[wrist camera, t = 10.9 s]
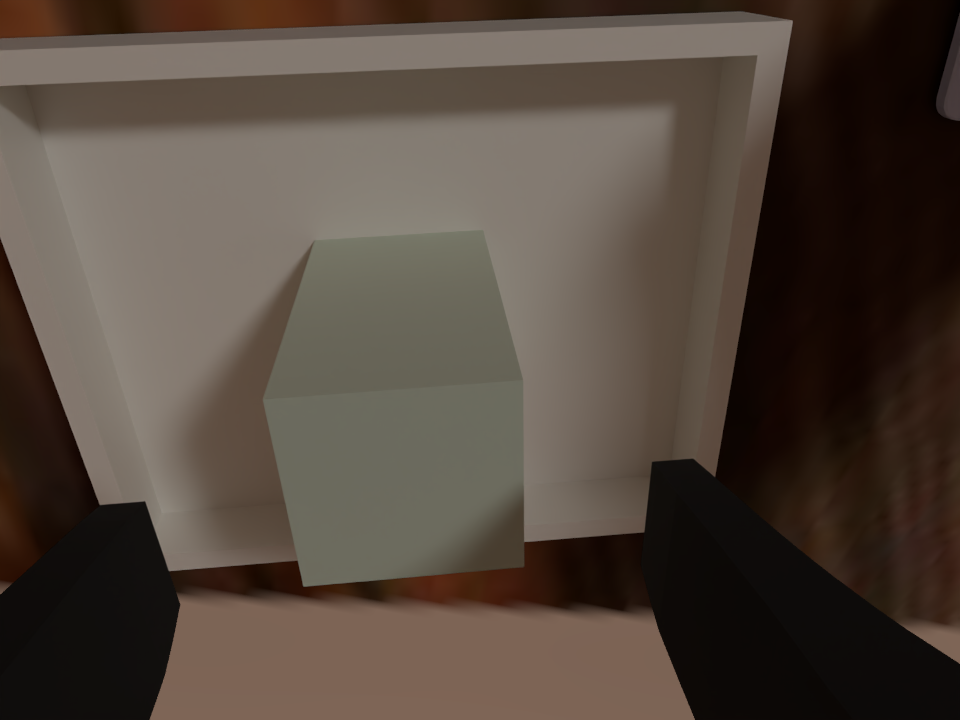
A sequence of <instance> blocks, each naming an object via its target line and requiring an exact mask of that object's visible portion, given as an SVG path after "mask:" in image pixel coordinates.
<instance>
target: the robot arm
mask: <svg viewBox="0 0 960 720" xmlns="http://www.w3.org/2000/svg"><path fill="white" fill-rule="evenodd" d="M936 108H937V111H938V113H939V114H940V115H942V116H943V117H945V118H948V119H951V120H957V121H960V14H959V17H958V21H957V25H956V28H955V32H954V36H953V39H952V43H951V47H950V50H949V54H948V58H947V61H946V65H945V69H944V72H943V76H942V80H941V83H940V87H939V91H938V94H937V99H936ZM641 567H642V571H643V575H644V579H645V583H646V586H647V590H648V594H649V598H650V601H651V605H652V608H653V612H654V615H655V619H656V622H657V626H658V629H659V632H660V634H661V637H662V640H663V642H664V645H665V647H666V650H667V652H668V655H669V657H670V660H671V662H672V664H673V667H674V669H675V672H676V674H677V677H678V679H679V682H680V684H681V687H682V689H683V691H684V694H685V696H686V699H687V701H688V704H689V706H690V708H691V711H692V713H693V716H694V718H695V720H960V664H959V663H958V662H956V661H954V660H953V659H951V658H950V657H948V656H947V655H945V654H944V653H942V652H941V651H939V650H938V649H936V648H935V647H933V646H931V645H930V644H928V643H927V642H925V641H924V640H922V639H921V638H919V637H918V636H916V635H915V634H913V633H911V632H910V631H908V630H907V629H905V628H904V627H902V626H901V625H900V624H898V623H897V622H895V621H894V620H892V619H891V618H889V617H888V616H887V615H885V614H884V613H882V612H881V611H879V610H878V609H877V608H875V607H874V606H873V605H871V604H870V603H869V602H867V601H866V600H865V599H863V598H862V597H860V596H859V595H858V594H856V593H855V592H854V591H852V590H851V589H850V588H848V587H847V586H846V585H844V584H843V583H842V582H840V581H839V580H837V579H836V578H835V577H833V576H832V575H831V574H830V573H828V572H827V571H826V570H825V569H823V568H822V567H821V566H819V565H818V564H817V563H816V562H814V561H813V560H812V559H811V558H809V557H808V556H807V555H806V554H804V553H803V552H802V551H801V550H799V549H798V548H797V547H796V546H794V545H793V544H792V543H791V542H790V541H788V540H787V539H786V538H785V537H784V536H782V535H781V534H780V533H779V532H778V531H776V530H775V529H774V528H773V527H772V526H770V525H769V524H768V523H767V522H766V521H765V520H763V519H762V518H761V517H760V516H759V515H758V514H756V513H755V512H754V511H753V510H752V509H751V508H749V507H748V506H747V505H746V504H745V503H744V502H743V501H741V500H740V499H739V498H738V497H737V496H736V495H735V494H733V493H732V492H731V491H730V490H729V489H728V488H727V487H725V486H724V485H723V484H722V483H721V482H720V481H719V480H718V479H716V478H715V477H714V476H713V475H712V474H711V473H710V472H708V471H707V470H706V469H705V468H704V467H703V466H701V465H700V464H699V463H698V462H697V461H696V460H694V459H680V460H667V461H654V462H652V466H651V475H650V484H649V494H648V503H647V512H646V521H645V530H644V540H643V549H642V558H641ZM179 608H180V603H179V600H178V597H177V594H176V591H175V588H174V585H173V582H172V579H171V576H170V573H169V570H168V567H167V564H166V561H165V558H164V555H163V552H162V549H161V546H160V543H159V540H158V537H157V535H156V532H155V529H154V526H153V523H152V520H151V517H150V514H149V511H148V508H147V505H146V502H145V501H143V502H130V503H118V504H105V505H100V506H99V507H98V508H96V509H95V510H94V511H93V512H92V513H90V514H89V515H88V516H87V517H86V518H85V519H83V520H82V521H81V522H80V523H79V524H78V525H77V526H75V527H74V528H73V529H72V530H71V531H70V532H69V533H68V534H67V535H65V536H64V537H63V538H62V539H61V540H60V541H59V542H58V543H57V544H56V545H55V546H53V547H52V548H51V549H50V550H49V551H48V552H47V553H46V554H45V555H44V556H42V557H41V558H40V559H39V560H38V561H37V562H36V563H35V564H34V565H33V566H32V567H30V568H29V569H28V570H27V571H26V572H25V573H24V574H23V575H22V576H21V577H19V578H18V579H17V580H16V581H15V582H14V583H13V584H12V585H10V586H9V587H8V588H7V589H6V590H5V591H4V592H3V593H2V594H0V720H149V719H150V716H151V713H152V711H153V708H154V705H155V702H156V699H157V696H158V694H159V691H160V688H161V685H162V682H163V679H164V676H165V672H166V668H167V663H168V660H169V655H170V651H171V646H172V642H173V637H174V633H175V628H176V622H177V618H178V612H179Z"/></svg>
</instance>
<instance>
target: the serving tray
mask: <svg viewBox="0 0 960 720" xmlns="http://www.w3.org/2000/svg"><path fill="white" fill-rule="evenodd" d="M792 23H793V21H792V20H786V19H781V18H775V17H769V16H764V15H758V14H753V13H747V12H741V11H740V12H713V13H685V14H658V15H631V16H603V17H576V18H549V19H521V20H494V21H467V22H440V23H412V24H385V25H358V26H330V27H303V28H276V29H248V30H221V31H194V32H166V33H139V34H112V35H84V36H57V37H30V38H3V39H0V238H1V241H2V244H3V246H4V249H5V252H6V255H7V257H8V260H9V263H10V265H11V268H12V271H13V273H14V276H15V279H16V281H17V284H18V287H19V289H20V292H21V295H22V297H23V300H24V303H25V306H26V308H27V311H28V314H29V316H30V319H31V322H32V324H33V327H34V330H35V332H36V335H37V338H38V340H39V343H40V346H41V348H42V351H43V354H44V357H45V359H46V362H47V365H48V367H49V370H50V373H51V375H52V378H53V381H54V383H55V386H56V389H57V391H58V394H59V397H60V399H61V402H62V405H63V408H64V410H65V413H66V416H67V418H68V421H69V424H70V426H71V429H72V432H73V434H74V437H75V440H76V442H77V445H78V448H79V450H80V453H81V456H82V459H83V461H84V464H85V467H86V469H87V472H88V475H89V477H90V480H91V483H92V485H93V488H94V491H95V493H96V496H97V499H98V501H99V504H100V505H105V504H118V503H130V502H143V501H145V502H146V505H147V508H148V511H149V514H150V517H151V520H152V523H153V526H154V529H155V532H156V535H157V537H158V540H159V543H160V546H161V549H162V552H163V555H164V558H165V561H166V564H167V567H168V570H169V571H175V570H188V569H200V568H212V567H224V566H237V565H249V564H261V563H273V562H286V561H298V559H297V554H296V550H295V545H294V541H293V536H292V532H291V527H290V522H289V518H288V513H287V509H286V504H285V499H284V495H283V490H282V486H281V481H280V476H279V472H278V467H277V463H276V458H275V453H274V449H273V444H272V440H271V435H270V431H269V426H268V421H267V417H266V412H265V408H264V403H263V397H264V394H265V391H266V388H267V385H268V382H269V379H270V376H271V373H272V370H273V366H274V363H275V360H276V357H277V354H278V351H279V348H280V345H281V342H282V339H283V336H284V333H285V330H286V327H287V323H288V320H289V317H290V314H291V311H292V308H293V305H294V302H295V299H296V296H297V293H298V290H299V287H300V284H301V281H302V277H303V274H304V271H305V268H306V265H307V262H308V259H309V256H310V253H311V250H312V247H313V244H314V241H315V240H327V239H343V238H359V237H376V236H392V235H408V234H424V233H440V232H456V231H472V230H483V232H484V235H485V239H486V243H487V247H488V250H489V254H490V258H491V262H492V265H493V269H494V273H495V277H496V280H497V284H498V288H499V291H500V295H501V299H502V303H503V306H504V310H505V314H506V318H507V321H508V325H509V329H510V333H511V336H512V340H513V344H514V347H515V351H516V355H517V359H518V362H519V366H520V370H521V374H522V377H523V429H524V542H531V541H543V540H555V539H568V538H580V537H592V536H604V535H617V534H629V533H641V532H644V530H645V521H646V512H647V503H648V494H649V484H650V475H651V466H652V462H654V461H667V460H680V459H694V460H696V461H697V462H698V463H699V464H700V465H701V466H703V467H704V468H705V469H706V470H707V471H708V472H710V473H711V474H712V475H713V476H714V477H715V475H716V469H717V463H718V457H719V451H720V445H721V439H722V434H723V428H724V422H725V416H726V410H727V404H728V398H729V392H730V387H731V381H732V375H733V369H734V363H735V357H736V351H737V346H738V340H739V334H740V328H741V322H742V316H743V310H744V304H745V299H746V293H747V287H748V281H749V275H750V269H751V263H752V257H753V252H754V246H755V240H756V234H757V228H758V222H759V216H760V211H761V205H762V199H763V193H764V187H765V181H766V175H767V169H768V164H769V158H770V152H771V146H772V140H773V134H774V128H775V122H776V117H777V111H778V105H779V99H780V93H781V87H782V81H783V76H784V70H785V64H786V58H787V52H788V46H789V40H790V34H791V29H792Z"/></svg>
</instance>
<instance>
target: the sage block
mask: <svg viewBox="0 0 960 720" xmlns="http://www.w3.org/2000/svg"><path fill="white" fill-rule="evenodd" d="M263 403H264V408H265V412H266V417H267V421H268V426H269V431H270V435H271V440H272V444H273V449H274V453H275V458H276V463H277V467H278V472H279V476H280V481H281V486H282V490H283V495H284V499H285V504H286V509H287V513H288V518H289V522H290V527H291V532H292V536H293V541H294V545H295V550H296V554H297V559H298V564H299V568H300V573H301V577H302V582H303V587H306V586H317V585H328V584H339V583H350V582H362V581H373V580H384V579H395V578H406V577H417V576H429V575H440V574H451V573H462V572H473V571H484V570H496V569H507V568H518V567H524V429H523V377H522V374H521V370H520V366H519V362H518V359H517V355H516V351H515V347H514V344H513V340H512V336H511V333H510V329H509V325H508V321H507V318H506V314H505V310H504V306H503V303H502V299H501V295H500V291H499V288H498V284H497V280H496V277H495V273H494V269H493V265H492V262H491V258H490V254H489V250H488V247H487V243H486V239H485V235H484V232H483V230H472V231H456V232H440V233H424V234H408V235H392V236H376V237H359V238H343V239H327V240H315V241H314V244H313V247H312V250H311V253H310V256H309V259H308V262H307V265H306V268H305V271H304V274H303V277H302V281H301V284H300V287H299V290H298V293H297V296H296V299H295V302H294V305H293V308H292V311H291V314H290V317H289V320H288V323H287V327H286V330H285V333H284V336H283V339H282V342H281V345H280V348H279V351H278V354H277V357H276V360H275V363H274V366H273V370H272V373H271V376H270V379H269V382H268V385H267V388H266V391H265V394H264V397H263Z"/></svg>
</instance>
